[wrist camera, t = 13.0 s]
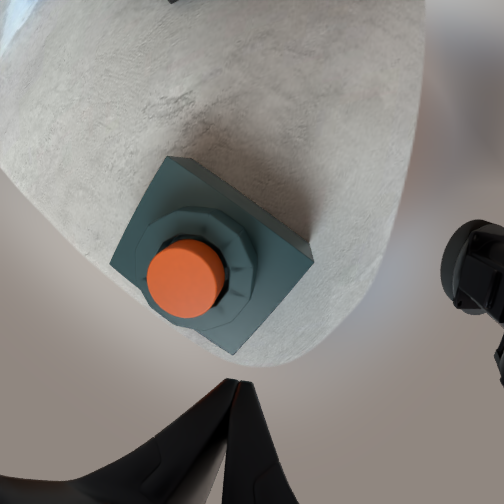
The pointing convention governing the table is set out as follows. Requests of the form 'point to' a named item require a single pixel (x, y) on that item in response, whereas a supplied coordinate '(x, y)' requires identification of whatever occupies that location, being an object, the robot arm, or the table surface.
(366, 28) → the table surface
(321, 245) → the table surface
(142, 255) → the control block
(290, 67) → the table surface
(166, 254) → the button
